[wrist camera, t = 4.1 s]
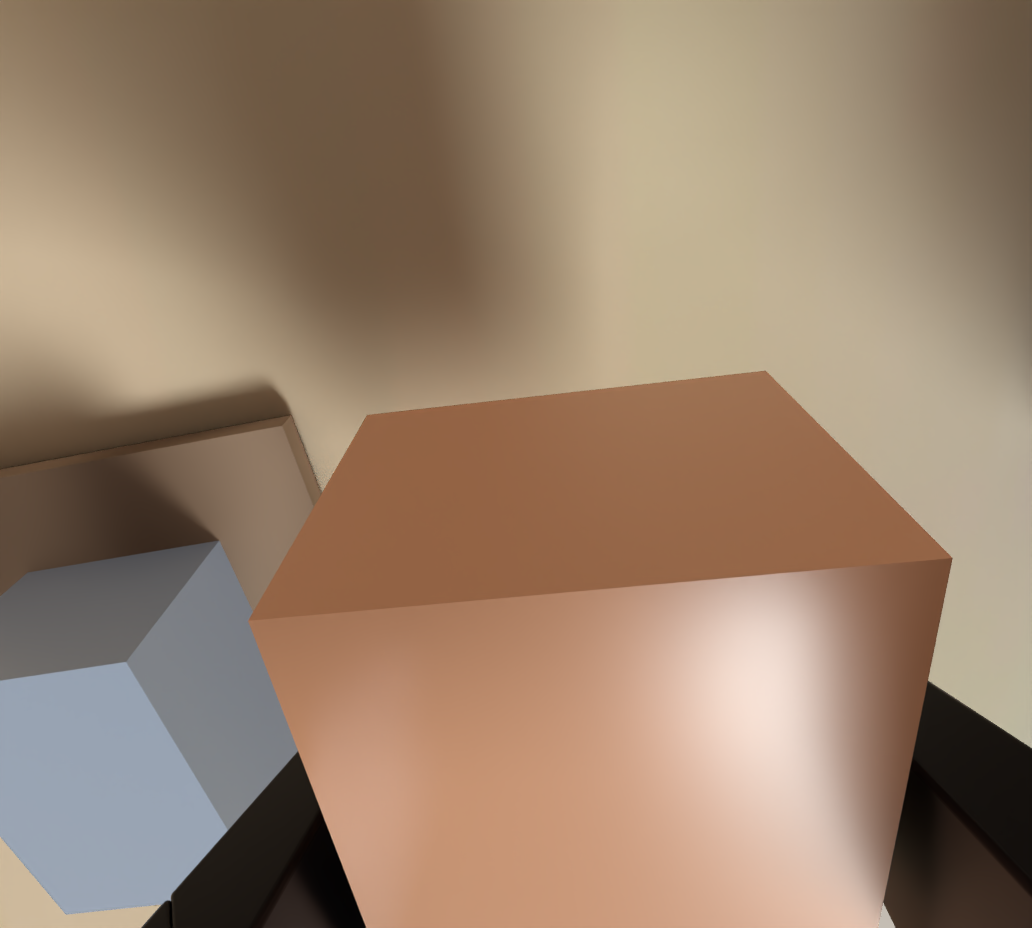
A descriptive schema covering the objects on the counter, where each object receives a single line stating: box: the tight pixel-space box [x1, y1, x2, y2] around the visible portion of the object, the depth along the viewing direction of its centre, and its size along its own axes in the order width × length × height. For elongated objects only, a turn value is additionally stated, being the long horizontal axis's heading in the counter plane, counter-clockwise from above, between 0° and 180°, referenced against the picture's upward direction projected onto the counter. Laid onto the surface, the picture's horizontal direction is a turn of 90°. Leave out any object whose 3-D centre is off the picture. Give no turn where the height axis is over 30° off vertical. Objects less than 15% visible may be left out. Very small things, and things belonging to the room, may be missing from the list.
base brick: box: [0, 541, 298, 914], centre depth 16 cm, size 5×7×4 cm
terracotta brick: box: [248, 371, 952, 928], centre depth 8 cm, size 5×7×4 cm
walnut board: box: [0, 415, 321, 611], centre depth 18 cm, size 10×12×1 cm
